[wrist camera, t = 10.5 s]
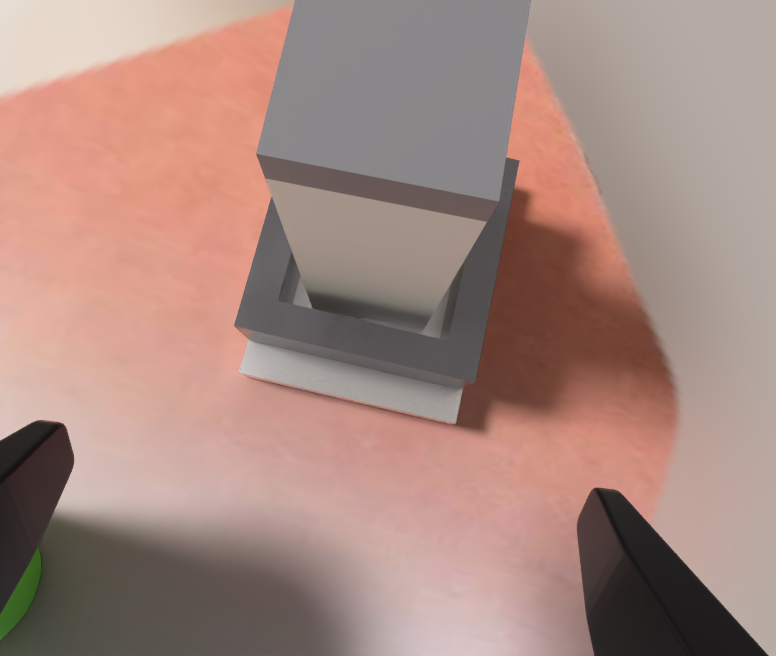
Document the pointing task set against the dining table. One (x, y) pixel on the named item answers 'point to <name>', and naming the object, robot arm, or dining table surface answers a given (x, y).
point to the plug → (390, 145)
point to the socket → (370, 330)
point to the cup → (21, 596)
